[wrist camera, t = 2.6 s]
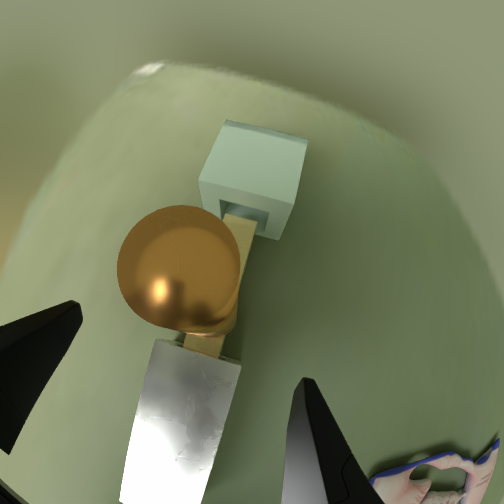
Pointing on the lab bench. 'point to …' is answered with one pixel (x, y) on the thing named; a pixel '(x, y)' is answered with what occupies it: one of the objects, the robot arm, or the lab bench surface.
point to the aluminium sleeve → (177, 425)
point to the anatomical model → (415, 491)
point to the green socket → (253, 176)
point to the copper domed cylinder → (187, 272)
